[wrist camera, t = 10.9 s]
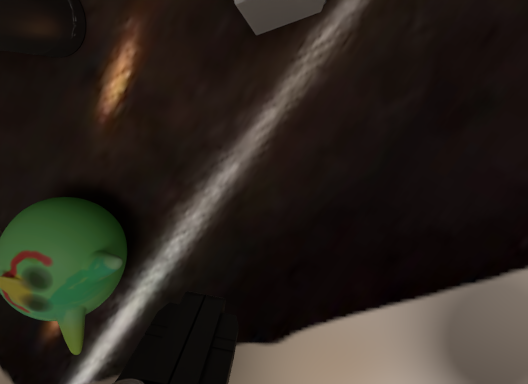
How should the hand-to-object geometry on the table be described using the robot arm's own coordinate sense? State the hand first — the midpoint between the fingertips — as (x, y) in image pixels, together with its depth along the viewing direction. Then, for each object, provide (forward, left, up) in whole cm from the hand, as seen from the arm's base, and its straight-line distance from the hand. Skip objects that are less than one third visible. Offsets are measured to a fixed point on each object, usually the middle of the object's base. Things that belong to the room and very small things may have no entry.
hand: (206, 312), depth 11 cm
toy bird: (-25, -19, -31) cm, 44 cm away
